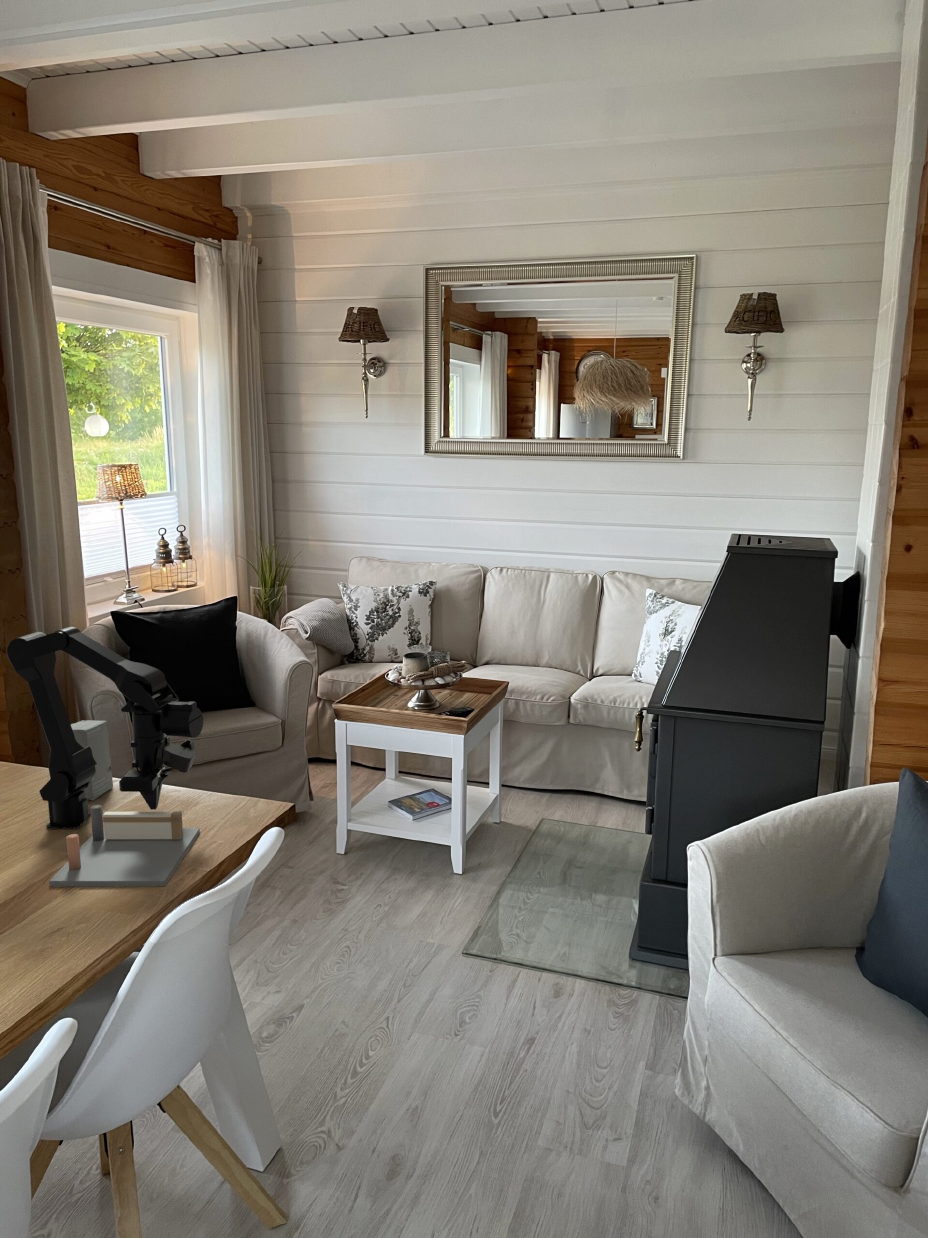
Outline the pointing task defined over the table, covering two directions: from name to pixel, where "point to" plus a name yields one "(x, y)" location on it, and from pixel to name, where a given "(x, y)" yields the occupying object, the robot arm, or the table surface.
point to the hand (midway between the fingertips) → (154, 809)
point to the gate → (143, 825)
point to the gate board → (121, 858)
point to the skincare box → (96, 754)
